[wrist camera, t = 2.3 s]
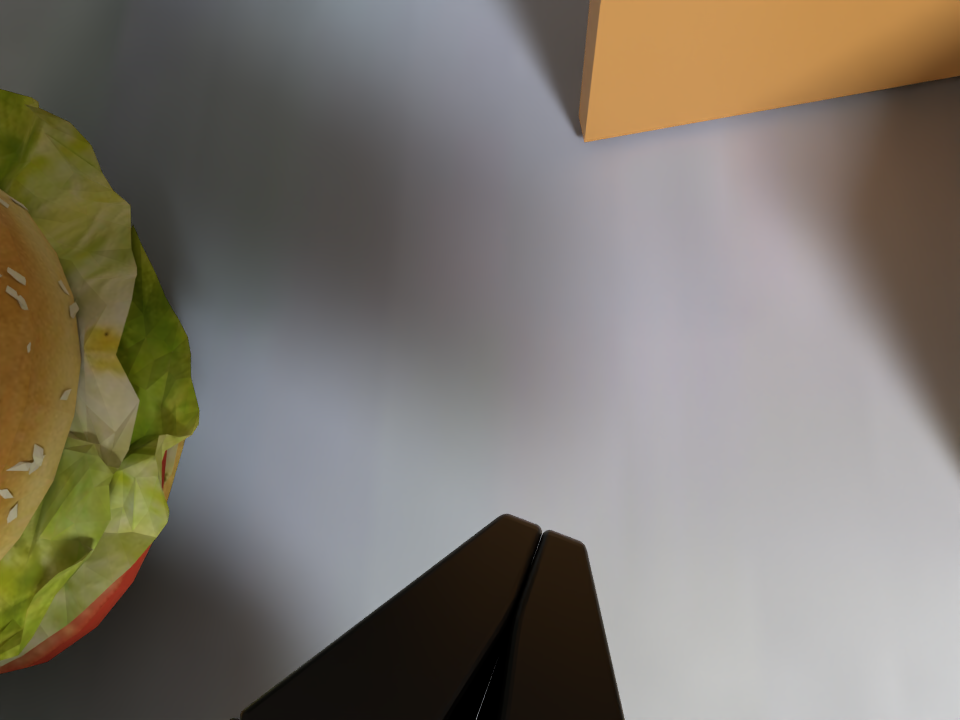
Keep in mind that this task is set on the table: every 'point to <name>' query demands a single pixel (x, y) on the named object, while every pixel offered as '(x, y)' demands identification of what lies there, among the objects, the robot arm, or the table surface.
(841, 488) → the table surface
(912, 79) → the side door
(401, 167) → the table surface
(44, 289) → the food
